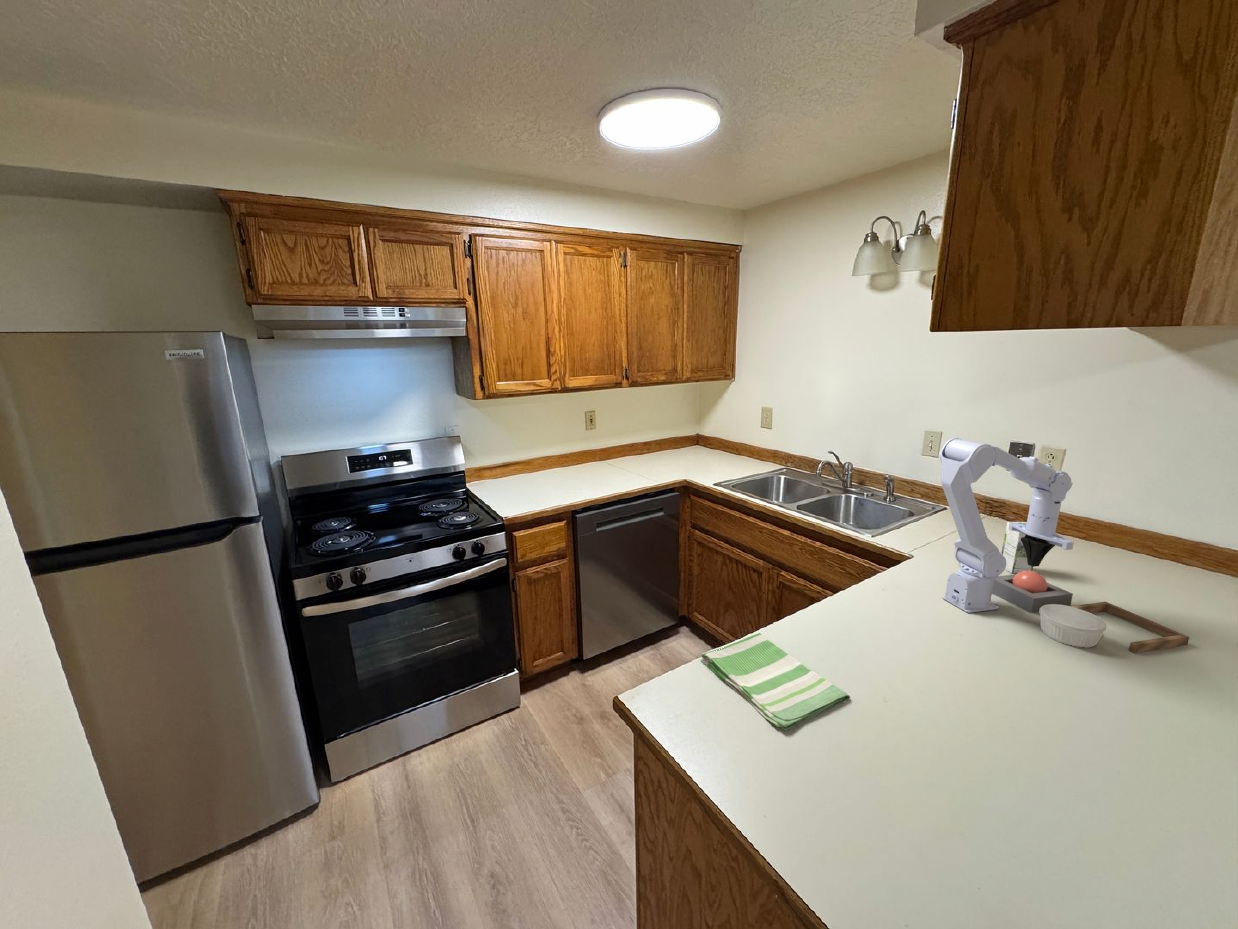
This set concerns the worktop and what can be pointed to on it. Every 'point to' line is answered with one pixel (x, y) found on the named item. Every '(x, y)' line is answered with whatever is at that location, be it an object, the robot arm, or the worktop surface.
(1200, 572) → the worktop surface
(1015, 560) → the syrup box
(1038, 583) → the salmon pink ball
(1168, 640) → the bent wooden slat
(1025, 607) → the base
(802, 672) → the dish towel
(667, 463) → the worktop surface
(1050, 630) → the ramekin
